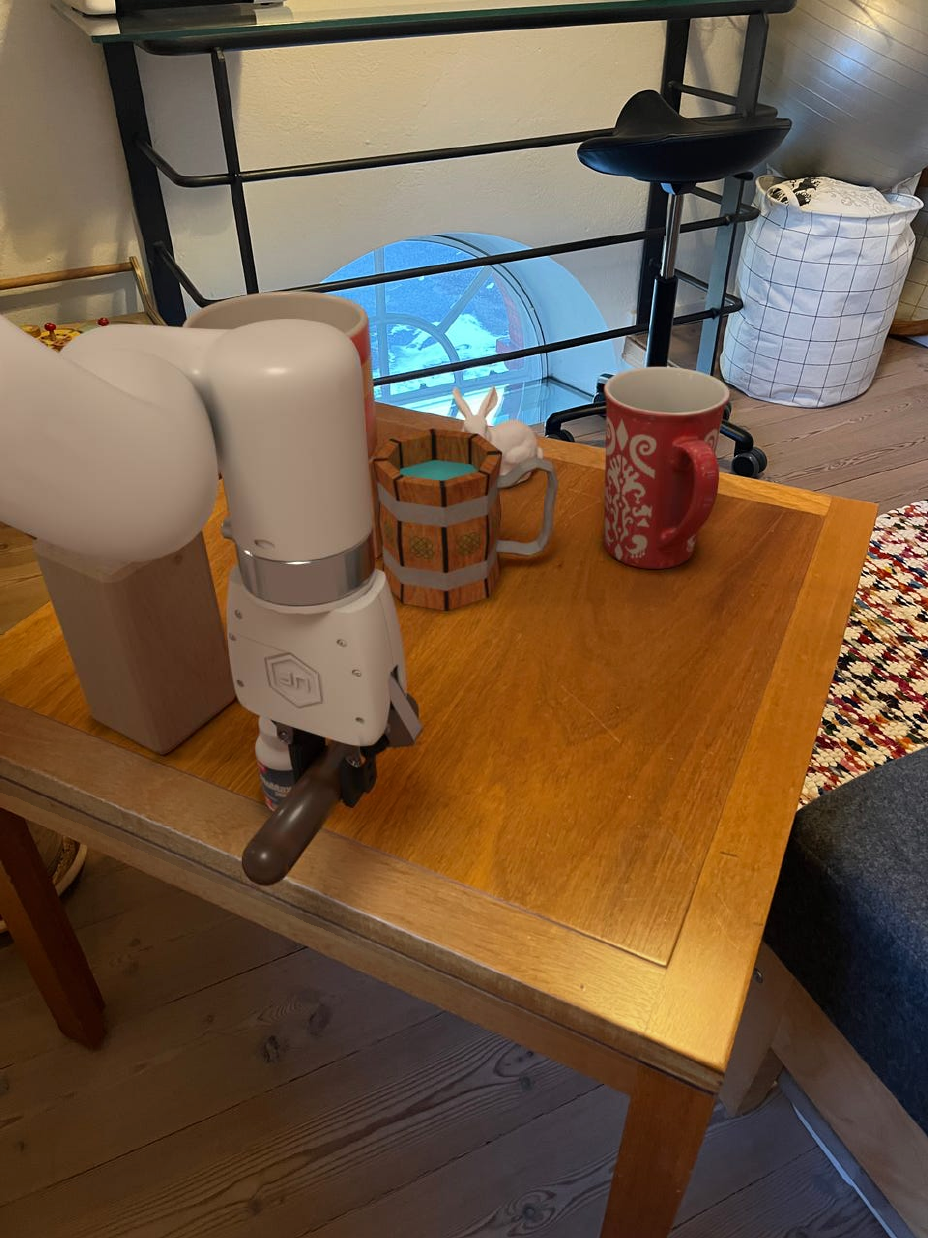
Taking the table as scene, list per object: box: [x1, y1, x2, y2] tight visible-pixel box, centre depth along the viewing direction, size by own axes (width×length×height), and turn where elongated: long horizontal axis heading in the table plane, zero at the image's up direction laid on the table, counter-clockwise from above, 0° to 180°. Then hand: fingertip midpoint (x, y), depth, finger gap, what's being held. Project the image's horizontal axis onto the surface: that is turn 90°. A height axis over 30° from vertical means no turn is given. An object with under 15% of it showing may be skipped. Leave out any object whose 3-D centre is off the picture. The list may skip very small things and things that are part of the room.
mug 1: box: [373, 428, 559, 612], centre depth 100 cm, size 20×14×15 cm
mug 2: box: [603, 366, 731, 570], centre depth 100 cm, size 18×13×20 cm
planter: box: [182, 290, 383, 559], centre depth 102 cm, size 20×20×27 cm
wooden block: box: [32, 529, 237, 755], centre depth 80 cm, size 10×10×20 cm
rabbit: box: [452, 384, 544, 486], centre depth 120 cm, size 12×9×12 cm
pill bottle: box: [254, 715, 295, 812], centre depth 75 cm, size 5×5×9 cm
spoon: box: [241, 692, 420, 887], centre depth 61 cm, size 19×5×3 cm, turn 156°
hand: (335, 782), depth 61 cm, fingers closed on spoon, 3 cm apart
